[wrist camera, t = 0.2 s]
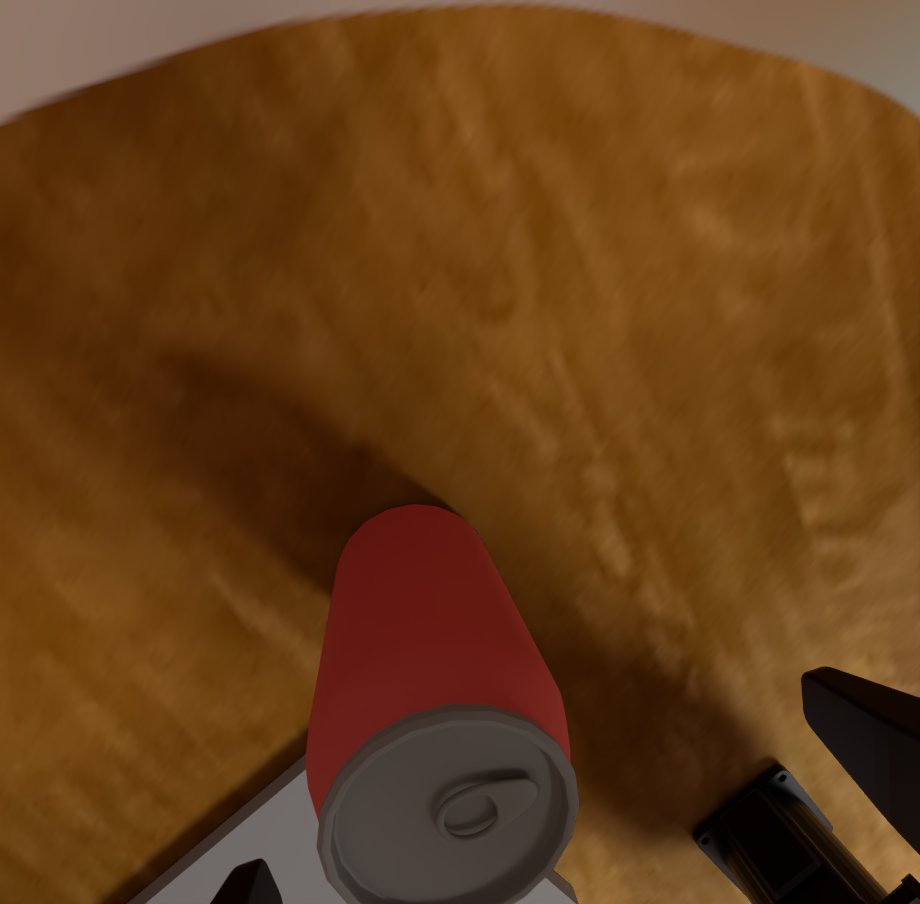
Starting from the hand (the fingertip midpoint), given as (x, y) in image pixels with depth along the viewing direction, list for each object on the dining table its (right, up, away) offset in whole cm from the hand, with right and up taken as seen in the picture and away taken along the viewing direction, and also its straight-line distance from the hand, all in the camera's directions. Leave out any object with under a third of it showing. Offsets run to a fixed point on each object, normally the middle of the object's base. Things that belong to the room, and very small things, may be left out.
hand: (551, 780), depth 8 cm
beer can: (-3, 0, +14) cm, 15 cm away
